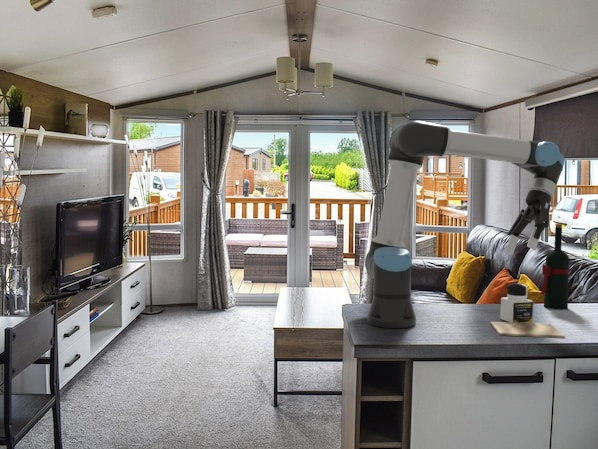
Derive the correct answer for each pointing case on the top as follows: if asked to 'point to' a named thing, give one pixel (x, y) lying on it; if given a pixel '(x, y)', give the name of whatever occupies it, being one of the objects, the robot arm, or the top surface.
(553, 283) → the wine bottle
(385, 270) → the robot arm
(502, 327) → the cork mat
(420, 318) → the top surface
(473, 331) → the top surface
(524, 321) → the medicine bottle
